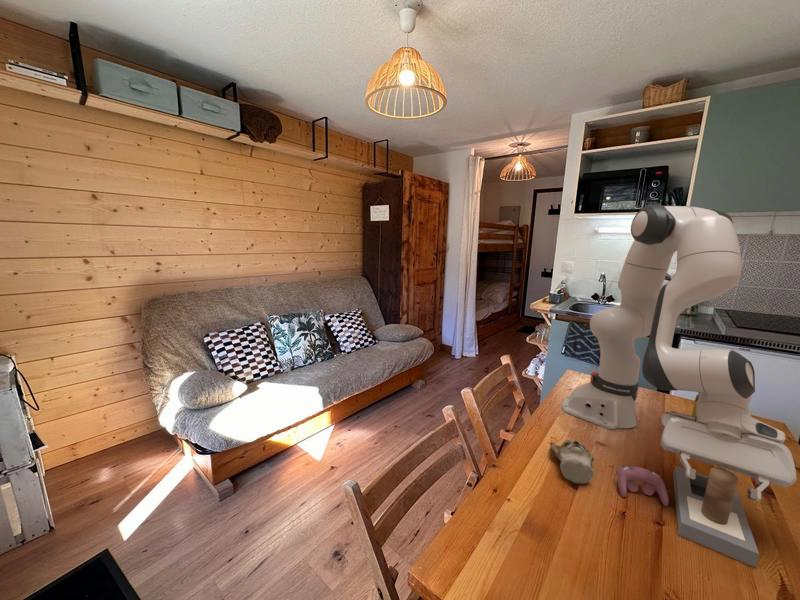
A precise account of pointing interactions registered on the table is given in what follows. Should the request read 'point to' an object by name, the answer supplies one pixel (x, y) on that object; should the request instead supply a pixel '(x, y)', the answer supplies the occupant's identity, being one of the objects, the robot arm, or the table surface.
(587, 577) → the table surface
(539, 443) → the table surface
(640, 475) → the video game controller
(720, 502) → the walnut peg
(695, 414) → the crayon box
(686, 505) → the hole board
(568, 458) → the ceramic sculpture
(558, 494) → the table surface
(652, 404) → the table surface
